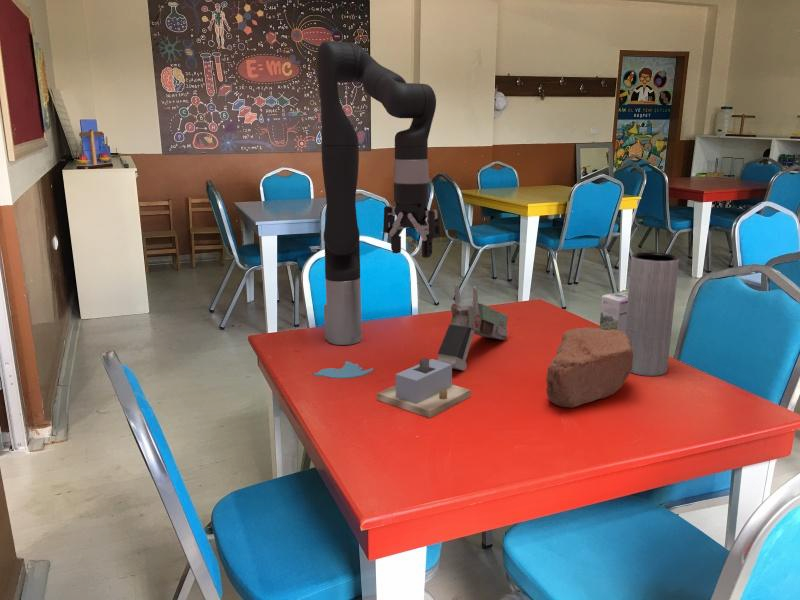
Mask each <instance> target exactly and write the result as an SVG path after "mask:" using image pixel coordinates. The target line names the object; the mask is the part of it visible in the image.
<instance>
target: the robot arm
mask: <svg viewBox="0 0 800 600" xmlns="http://www.w3.org/2000/svg"><path fill="white" fill-rule="evenodd" d="M316 71H317V72H316V74H317V82H318V93H319V101H320V115H321V116H320V120H321V147H320V148H321V166H322V168H321V169H322V176H323V184H324V190H325V191H324V192H325V200H326V201H325V203H326V207H325V223H324V230H323V241H324V276H325V277H324V278H325V302H326V303H325V304H324V305H323V324H324V326H323V327H324V340H327V342H328V343H330V344H333V345H336V346H337V345H339V346H347V345H350V346H351V345H354V344H358V343H360V342H361V341H362V338H363V336H362V294H361V293H362V291H361V290H362V289H361V288H362V287H361V286H362V285H361V283H362V282H361V255H360V253H361V250H360V249H361V247H360V242H361V241H360V237H361V234H360V229H359V224H358V218H357V217H358V216H357V207H356V206H357V204H356V203H357V201H356V196H357V188H358V187H357V186H358V180H359V179H358V178H359V162H360V157H359V156H360V150H359V149H360V148H359V147H360V146H359V137H358V134H357V132H356V130H355V128H354V126H353V124H352V122H351V120H350V118H349V117H348V115H347V114H346V112H345V110H344V107H343V105H342V103H341V100H340V94H339V88H338V87H339V86H338V83H347V84H348V83H349V84H350V83H351V84H352V83H360V84H362V86H363V88H364V90H365V92H366V94H367V95H368V96H370V97H371V98H372V99H374V100H376V101H378V102H379V103H381V105H382V107H384V109H385V110H386V113H387V114H388V115H389V116H391V117H394V118H397V119H411V120H412V121H411V122H410V123H411V124H410V126H409V128H407V129H403V130H400V131H398V132H396V134H395V136H394V164H393V202H394V203H395V206H394V205H388V206H384V207H383V229H382V230H383V233H384V234H388V235H389V236H390V248H391V251H392V254H399V253H401V251H402V235H401V234H402V232H403V231H404V229H406V228H409V229H412V230H413V229H415V231H416V232H417V233H419V236H420V237H421V239H422V240H421V257H422V258H423V259H428V258H430V257H431V256H432V254H433V240H435V239H437V238H440V237H441V218H440V217H441V216H440V214H441V213H440V210H439V209H430V210H429V209H428V207H427V205H428V202H429V190H430V189H429V188H430V187H429V186H430V185H429V179H430V178H429V174H430V173H429V162H428V145H429V142H428V140H429V136H430V133H431V132H430V131H431V127H432V124H433V120H434V117H435V113H436V108H437V97H436V93H435V91H434V89H433V88H432V86H430V85H429V84H428V83H427V84H425V83H412V82H411V83H409V82H406V80H405V79H404V78H403V77H402V76H401V75H400V74H399V73H396V72H395V71H393V70H390V69H388V68H386V67H385V66H383V65H381V64H380V63H379V62H377V61H376V59H374V57H372V56H371V55H370V54H369V53H368V52H367V51H366V50H365V49H364V48H363V47H362V46H360V45H359V44H358V43H357V44H356V43H355V42H348V41H347V42H345V41H335V40H325V41H322V42H321V44H319V46H318V49H317V55H316Z"/></svg>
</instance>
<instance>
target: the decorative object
mask: <svg viewBox="0 0 800 600" xmlns="http://www.w3.org/2000/svg"><path fill="white" fill-rule="evenodd" d="M344 363H345V364H344V365H343V366H342V367H340V368H339V369H338V368H335V367H326V368H322V369H320V370H319V371H318V372H315V373H312V374H313V375H312V376H314V377H323V376H325V377H324V378H327V377H330V378H329V379H335V378H340V379H339V380H344V379H343V378H347V379H355V378H354V377H356V378H360V377H363V375H364V376H366V375H368V373H369V374H371V373H372V372H373V371H374V367H372V368H369V369H365V370H363V367H362V366H360V365H359V364H358V363H353V362H351V361H344ZM359 376H360V377H359Z"/></svg>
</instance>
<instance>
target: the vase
mask: <svg viewBox="0 0 800 600" xmlns="http://www.w3.org/2000/svg"><path fill="white" fill-rule="evenodd" d="M679 259H680V258H679V257H678V256H677V255H674V254H669V253H664V252H663V253H662V252H647V251H646V252H636V253H633V254H632V255H631V260H630V269H629V271H630V272H629V281H628V283H629V284H628V294H627V296H628V304H627V315H626V327H625V334H626V335H627V336H628V337H629V339H630V342H631V347H632V351H633V362H632V370H631V372H630V374H634V375H638V376H644V377H646V376H647V377H658V376H662V375H664V374H666V373H667V372H668V366H669V360H670V359H669V357H670V349H671V337H672V328H673V318H674V311H675V300H676V291H677V290H676V289H677V281H678V273H679V272H678V270H679V262H680V260H679Z"/></svg>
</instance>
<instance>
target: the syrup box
mask: <svg viewBox="0 0 800 600" xmlns="http://www.w3.org/2000/svg"><path fill="white" fill-rule="evenodd" d="M600 304H601V305H600V315H599V317H600V319H599V329H603V330H610V329H616V330H620V331H621V332H623V333H625V327H626V315H627V304H628V295H625V294H621V293H617V292H612V293H610V292H609V293H606V294H603V295H601V302H600Z"/></svg>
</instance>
